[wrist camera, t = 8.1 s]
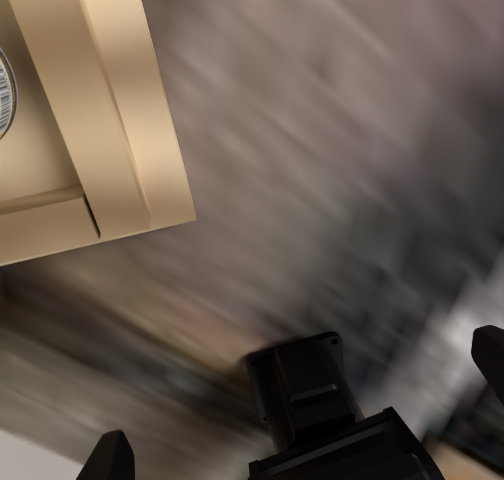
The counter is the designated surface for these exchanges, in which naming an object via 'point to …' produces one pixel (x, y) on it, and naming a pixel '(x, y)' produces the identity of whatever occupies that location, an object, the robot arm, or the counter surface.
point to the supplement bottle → (7, 95)
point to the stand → (85, 130)
